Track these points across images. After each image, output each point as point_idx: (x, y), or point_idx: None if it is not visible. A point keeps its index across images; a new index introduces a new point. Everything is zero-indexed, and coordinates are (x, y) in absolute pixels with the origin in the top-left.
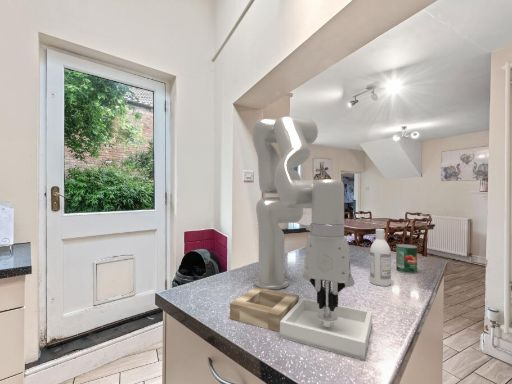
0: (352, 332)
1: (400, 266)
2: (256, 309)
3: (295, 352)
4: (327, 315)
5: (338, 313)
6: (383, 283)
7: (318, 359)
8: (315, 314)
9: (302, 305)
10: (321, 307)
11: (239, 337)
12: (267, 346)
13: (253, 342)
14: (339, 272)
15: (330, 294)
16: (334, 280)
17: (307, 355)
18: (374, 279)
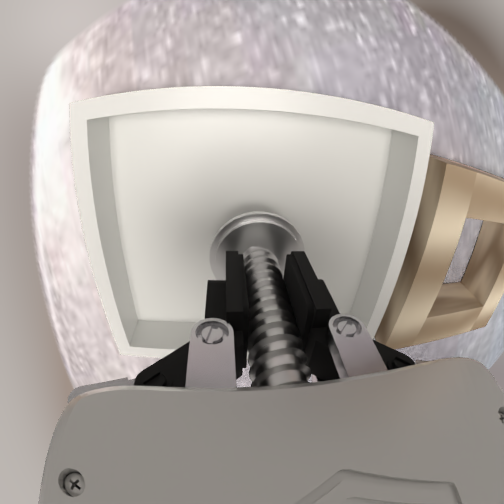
0: (158, 240)
1: None
2: (500, 181)
3: (329, 41)
4: (256, 249)
5: None
6: None
7: (244, 30)
8: None
9: (363, 314)
10: (291, 254)
11: (478, 91)
12: (413, 56)
13: (448, 71)
14: (117, 494)
15: (246, 316)
16: (192, 398)
17: (286, 37)
18: None
